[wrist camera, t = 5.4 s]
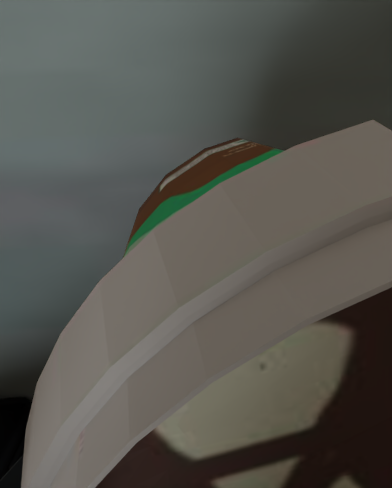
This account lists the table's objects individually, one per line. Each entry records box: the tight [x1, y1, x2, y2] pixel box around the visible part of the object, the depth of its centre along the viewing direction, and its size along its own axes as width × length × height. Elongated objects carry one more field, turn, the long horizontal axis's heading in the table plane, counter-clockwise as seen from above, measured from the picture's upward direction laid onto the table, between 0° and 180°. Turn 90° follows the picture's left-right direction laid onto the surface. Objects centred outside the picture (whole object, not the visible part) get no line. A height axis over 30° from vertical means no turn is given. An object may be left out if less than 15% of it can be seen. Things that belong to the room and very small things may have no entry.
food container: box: [21, 120, 392, 488], centre depth 9 cm, size 12×6×10 cm, turn 12°
